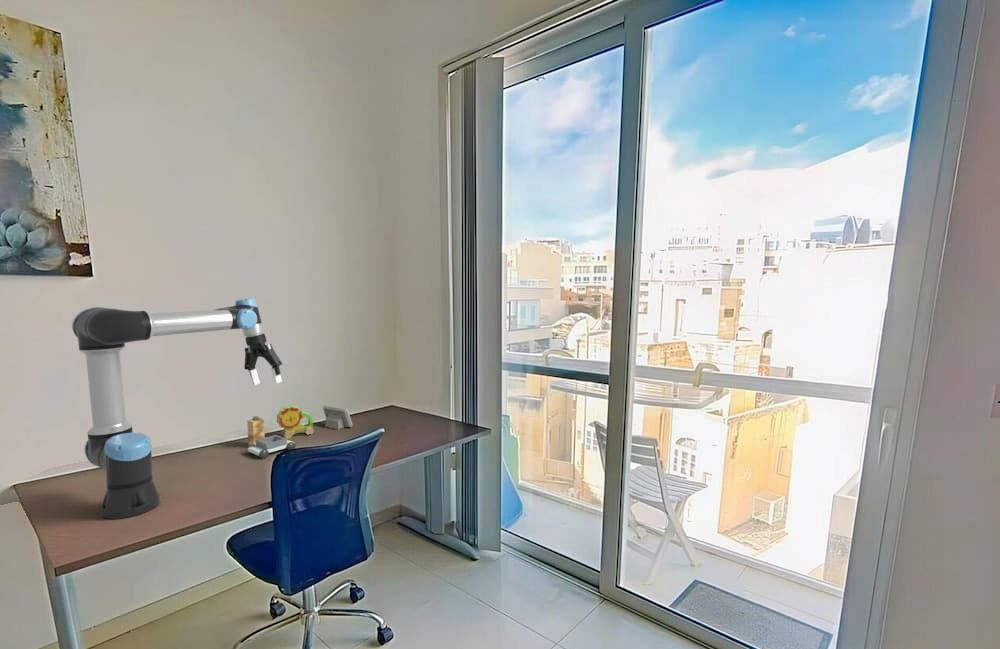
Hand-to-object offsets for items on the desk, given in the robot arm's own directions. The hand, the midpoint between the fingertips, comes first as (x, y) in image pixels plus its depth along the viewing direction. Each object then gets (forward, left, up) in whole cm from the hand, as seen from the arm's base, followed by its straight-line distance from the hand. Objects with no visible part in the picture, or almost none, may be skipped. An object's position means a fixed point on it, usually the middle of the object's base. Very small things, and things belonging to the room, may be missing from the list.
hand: (267, 383), depth 200 cm
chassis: (-1, +4, -31) cm, 31 cm away
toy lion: (+2, +25, -31) cm, 40 cm away
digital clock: (+18, +40, -31) cm, 54 cm away
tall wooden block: (-11, +12, -31) cm, 35 cm away
